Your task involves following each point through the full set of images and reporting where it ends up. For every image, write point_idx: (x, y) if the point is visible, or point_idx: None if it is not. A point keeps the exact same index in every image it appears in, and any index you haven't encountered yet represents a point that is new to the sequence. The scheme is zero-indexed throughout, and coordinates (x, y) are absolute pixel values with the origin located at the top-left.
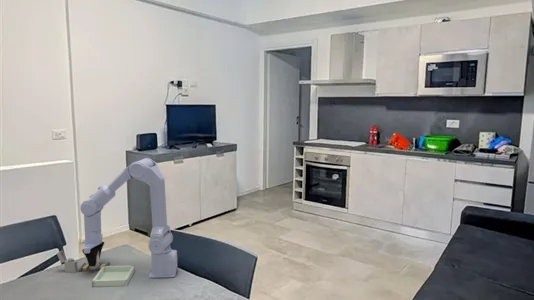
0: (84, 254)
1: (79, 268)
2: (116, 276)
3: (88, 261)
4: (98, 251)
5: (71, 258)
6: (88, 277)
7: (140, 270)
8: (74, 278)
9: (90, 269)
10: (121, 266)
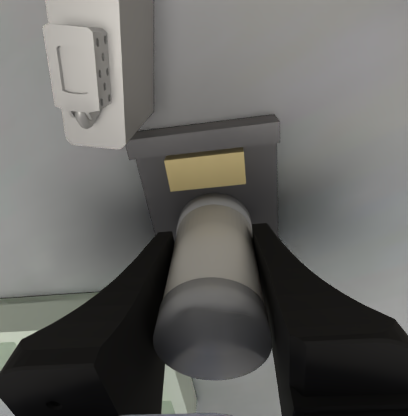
0: (57, 322)
1: (150, 139)
2: None
3: (136, 263)
4: (225, 377)
5: (95, 72)
6: (84, 235)
7: (212, 410)
8: (39, 150)
9: (181, 211)
10: (172, 399)
